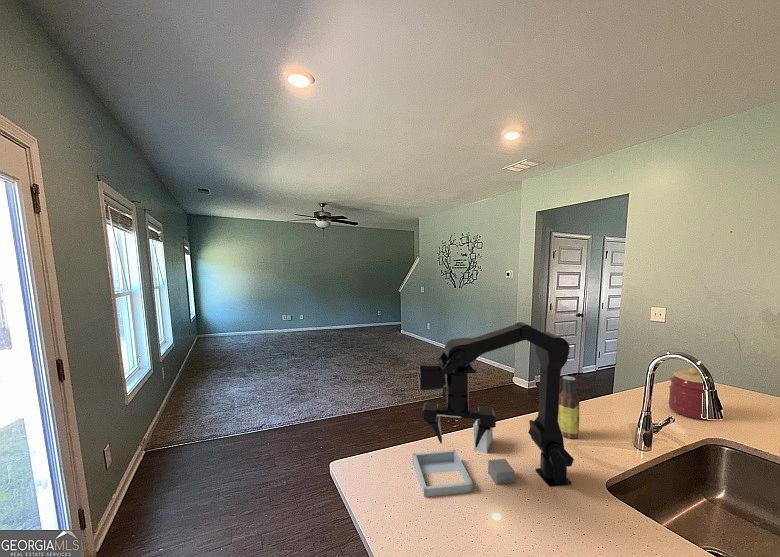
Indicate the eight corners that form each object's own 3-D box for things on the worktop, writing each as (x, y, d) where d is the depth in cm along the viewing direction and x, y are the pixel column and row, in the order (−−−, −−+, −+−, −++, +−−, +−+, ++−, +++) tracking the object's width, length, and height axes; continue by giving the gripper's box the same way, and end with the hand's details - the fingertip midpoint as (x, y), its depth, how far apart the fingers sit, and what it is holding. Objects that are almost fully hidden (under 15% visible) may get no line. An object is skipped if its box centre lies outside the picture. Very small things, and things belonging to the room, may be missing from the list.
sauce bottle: (582, 440, 101) (584, 382, 100) (561, 438, 102) (563, 381, 101) (574, 429, 107) (576, 375, 106) (555, 427, 108) (556, 374, 107)
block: (514, 485, 80) (514, 471, 80) (496, 487, 80) (496, 472, 80) (504, 472, 85) (505, 458, 85) (488, 473, 85) (488, 460, 84)
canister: (680, 417, 115) (683, 372, 113) (661, 402, 127) (663, 361, 126) (724, 423, 111) (727, 376, 110) (699, 406, 123) (702, 364, 122)
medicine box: (487, 454, 94) (487, 427, 94) (472, 450, 97) (473, 423, 96) (492, 441, 101) (493, 416, 100) (479, 437, 103) (479, 412, 103)
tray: (473, 497, 77) (473, 484, 77) (424, 502, 76) (424, 489, 76) (455, 460, 91) (455, 449, 91) (412, 464, 90) (412, 453, 90)
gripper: (491, 378, 86) (491, 431, 87) (425, 374, 90) (426, 424, 91) (495, 396, 75) (496, 455, 76) (421, 390, 79) (422, 447, 80)
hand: (458, 444), depth 81 cm, fingers open, 9 cm apart
